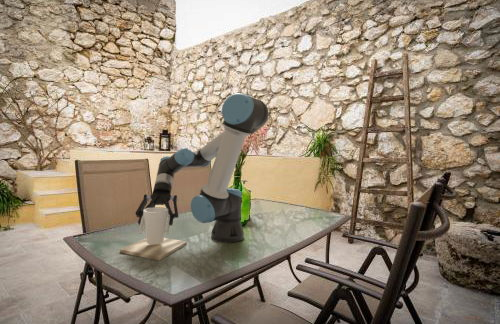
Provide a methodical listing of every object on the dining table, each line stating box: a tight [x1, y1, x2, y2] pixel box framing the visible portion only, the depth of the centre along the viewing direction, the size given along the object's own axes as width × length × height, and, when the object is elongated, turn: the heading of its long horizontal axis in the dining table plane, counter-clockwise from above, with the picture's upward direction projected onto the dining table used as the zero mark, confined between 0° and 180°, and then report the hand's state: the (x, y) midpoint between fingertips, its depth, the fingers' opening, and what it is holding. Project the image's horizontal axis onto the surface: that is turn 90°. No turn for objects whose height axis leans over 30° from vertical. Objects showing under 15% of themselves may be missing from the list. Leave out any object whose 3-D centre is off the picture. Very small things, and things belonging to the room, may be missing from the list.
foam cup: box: [143, 206, 169, 245], centre depth 107 cm, size 10×9×13 cm
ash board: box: [119, 237, 188, 261], centre depth 108 cm, size 18×18×1 cm
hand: (153, 232), depth 104 cm, fingers closed on foam cup, 9 cm apart
